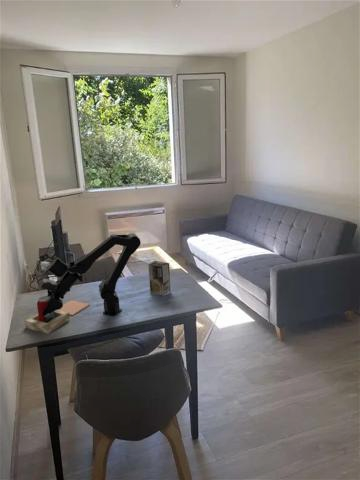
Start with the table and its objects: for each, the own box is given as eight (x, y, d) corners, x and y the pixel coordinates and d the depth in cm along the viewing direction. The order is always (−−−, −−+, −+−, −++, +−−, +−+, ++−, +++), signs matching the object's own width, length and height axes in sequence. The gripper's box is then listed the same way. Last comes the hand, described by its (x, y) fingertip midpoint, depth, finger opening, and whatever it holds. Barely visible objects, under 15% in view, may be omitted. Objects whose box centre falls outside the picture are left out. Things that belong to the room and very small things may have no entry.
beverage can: (51, 328, 154) (47, 302, 151) (36, 327, 155) (33, 301, 152) (59, 320, 160) (55, 295, 157) (45, 319, 162) (41, 295, 159)
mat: (89, 305, 175) (89, 304, 175) (72, 315, 164) (72, 314, 164) (71, 301, 180) (70, 300, 180) (53, 311, 170) (53, 310, 169)
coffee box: (171, 292, 187) (169, 262, 182) (164, 296, 181) (162, 266, 177) (157, 289, 191) (155, 260, 187) (149, 293, 186) (147, 263, 182)
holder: (69, 319, 161) (68, 312, 160) (47, 333, 150) (46, 326, 149) (48, 314, 166) (47, 307, 165) (25, 327, 155) (24, 320, 154)
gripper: (50, 266, 162) (28, 292, 161) (50, 279, 145) (25, 309, 144) (71, 279, 166) (48, 305, 166) (73, 294, 149) (48, 323, 148)
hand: (42, 310), depth 156 cm, fingers open, 9 cm apart
